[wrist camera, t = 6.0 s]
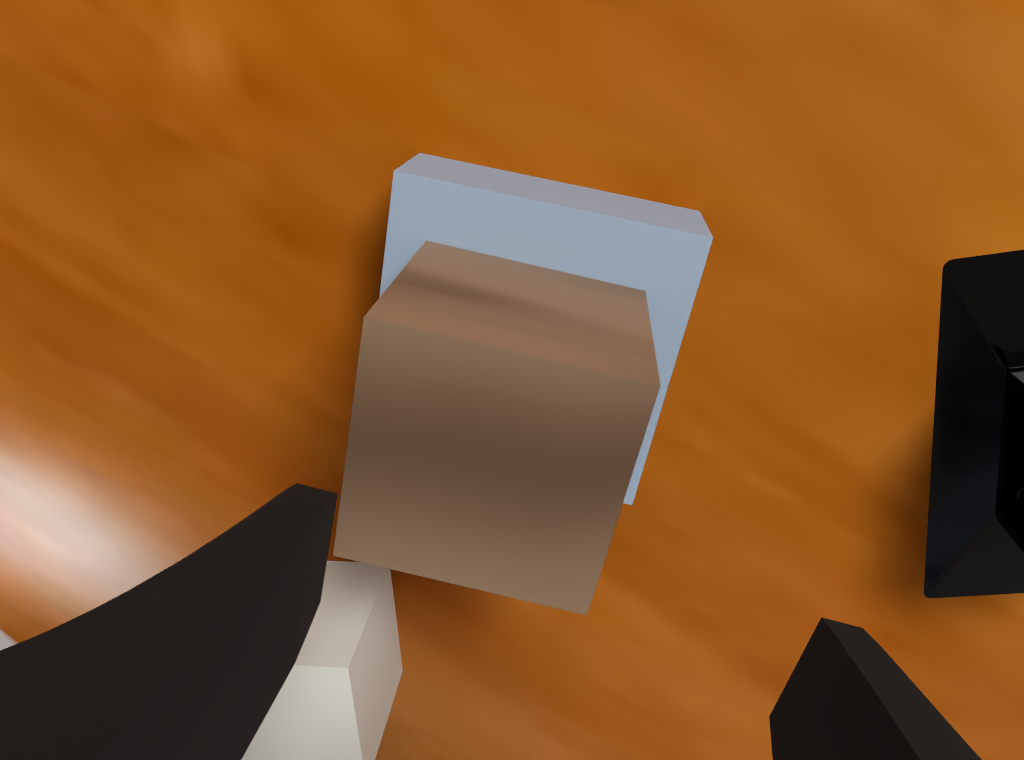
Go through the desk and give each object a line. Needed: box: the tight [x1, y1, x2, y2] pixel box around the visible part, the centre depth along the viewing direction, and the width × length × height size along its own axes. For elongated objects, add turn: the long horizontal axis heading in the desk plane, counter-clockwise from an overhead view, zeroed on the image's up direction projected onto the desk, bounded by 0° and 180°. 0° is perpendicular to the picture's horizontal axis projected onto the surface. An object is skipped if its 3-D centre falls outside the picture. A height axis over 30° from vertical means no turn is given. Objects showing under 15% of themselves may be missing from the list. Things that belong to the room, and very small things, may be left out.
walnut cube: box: [333, 240, 661, 615], centre depth 16 cm, size 5×5×5 cm
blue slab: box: [379, 153, 713, 505], centre depth 19 cm, size 7×7×3 cm
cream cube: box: [241, 561, 403, 760], centre depth 24 cm, size 4×4×4 cm
